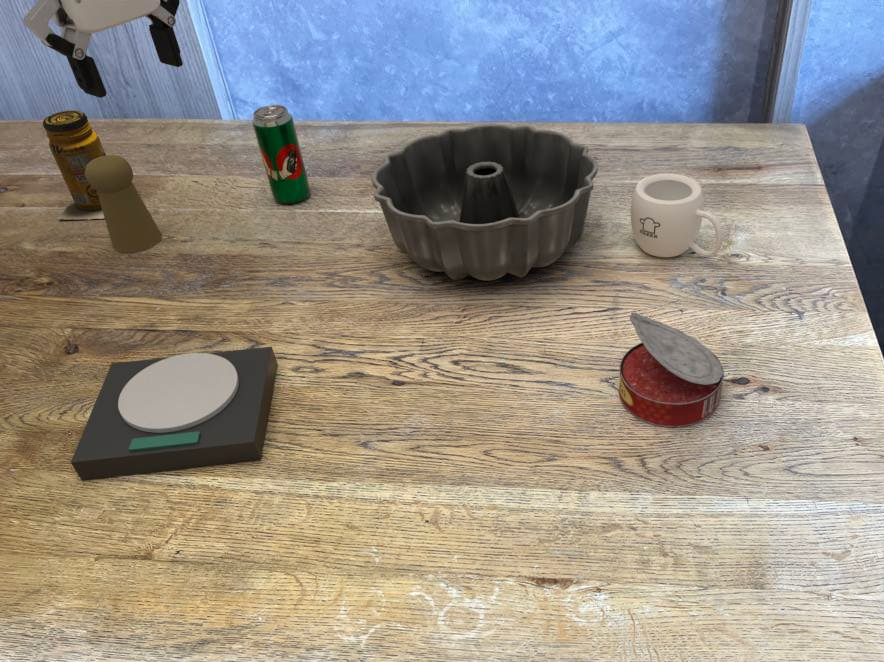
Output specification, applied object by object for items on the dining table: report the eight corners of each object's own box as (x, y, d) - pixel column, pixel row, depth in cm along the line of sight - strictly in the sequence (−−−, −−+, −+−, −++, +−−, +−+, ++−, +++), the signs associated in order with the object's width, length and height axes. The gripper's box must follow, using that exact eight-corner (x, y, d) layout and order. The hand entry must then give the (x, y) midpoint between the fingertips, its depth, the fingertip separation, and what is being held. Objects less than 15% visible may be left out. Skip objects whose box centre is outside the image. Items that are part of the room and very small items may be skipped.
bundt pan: (398, 195, 112) (386, 124, 105) (590, 188, 111) (591, 116, 104) (370, 308, 92) (353, 230, 85) (603, 300, 92) (605, 221, 85)
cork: (107, 255, 103) (70, 174, 95) (118, 231, 107) (83, 151, 100) (157, 249, 103) (124, 168, 96) (165, 225, 108) (134, 146, 100)
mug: (615, 249, 100) (616, 189, 94) (656, 221, 104) (660, 163, 99) (698, 283, 93) (704, 222, 88) (737, 252, 98) (746, 192, 93)
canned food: (636, 397, 86) (648, 303, 84) (729, 418, 82) (745, 319, 79) (591, 418, 76) (604, 313, 74) (694, 443, 72) (712, 332, 70)
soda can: (316, 189, 114) (296, 104, 106) (302, 206, 110) (280, 120, 102) (282, 187, 114) (260, 102, 106) (267, 204, 111) (243, 118, 103)
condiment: (133, 188, 116) (99, 105, 108) (111, 218, 109) (74, 132, 101) (82, 191, 116) (44, 107, 108) (57, 221, 109) (15, 135, 101)
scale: (81, 480, 74) (67, 457, 72) (120, 381, 84) (109, 358, 82) (261, 460, 75) (252, 437, 73) (277, 364, 85) (270, 341, 83)
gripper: (122, -125, 83) (177, 48, 95) (-44, -90, 73) (41, 100, 84) (170, -120, 80) (221, 59, 92) (4, -82, 69) (85, 114, 81)
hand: (135, 79), depth 88 cm, fingers open, 9 cm apart
